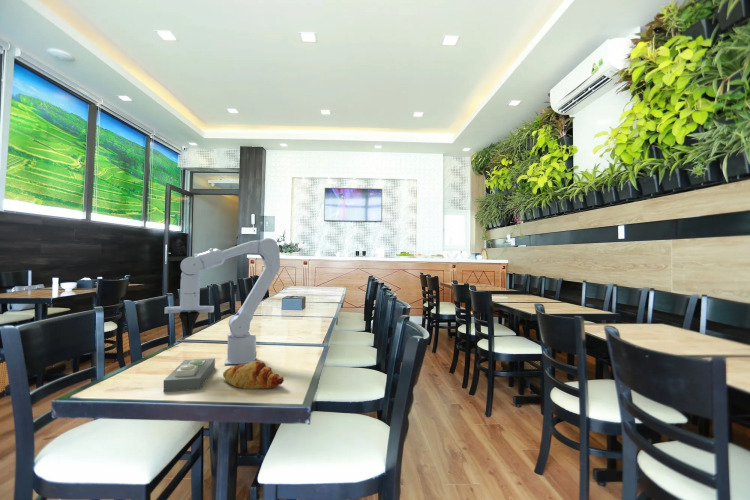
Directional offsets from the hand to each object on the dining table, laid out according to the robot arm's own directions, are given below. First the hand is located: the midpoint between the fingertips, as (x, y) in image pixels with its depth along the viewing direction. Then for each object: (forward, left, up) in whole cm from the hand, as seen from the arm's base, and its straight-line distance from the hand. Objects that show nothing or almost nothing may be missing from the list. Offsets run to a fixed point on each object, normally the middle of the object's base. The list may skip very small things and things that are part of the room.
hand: (189, 334), depth 120 cm
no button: (-4, +18, -9) cm, 21 cm away
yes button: (-4, +8, -10) cm, 14 cm away
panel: (-4, +13, -10) cm, 17 cm away
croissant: (-22, +21, -11) cm, 32 cm away
